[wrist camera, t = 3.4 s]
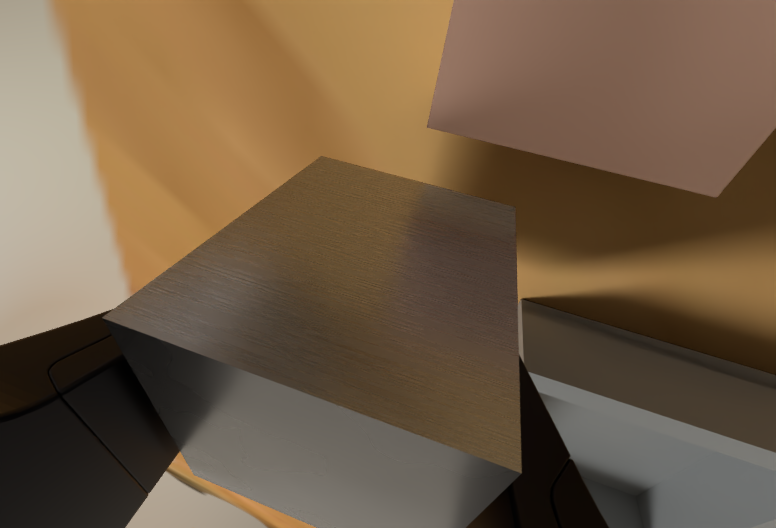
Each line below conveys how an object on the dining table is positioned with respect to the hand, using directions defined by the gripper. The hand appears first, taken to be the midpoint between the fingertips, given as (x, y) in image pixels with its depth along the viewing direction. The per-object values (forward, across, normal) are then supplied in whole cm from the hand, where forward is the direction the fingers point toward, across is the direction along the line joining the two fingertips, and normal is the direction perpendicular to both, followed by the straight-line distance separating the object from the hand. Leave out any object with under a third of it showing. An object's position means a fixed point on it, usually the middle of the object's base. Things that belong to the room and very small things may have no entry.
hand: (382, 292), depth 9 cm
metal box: (+2, 0, 0) cm, 2 cm away
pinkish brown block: (+5, -3, -6) cm, 8 cm away
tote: (+5, -10, +8) cm, 14 cm away
